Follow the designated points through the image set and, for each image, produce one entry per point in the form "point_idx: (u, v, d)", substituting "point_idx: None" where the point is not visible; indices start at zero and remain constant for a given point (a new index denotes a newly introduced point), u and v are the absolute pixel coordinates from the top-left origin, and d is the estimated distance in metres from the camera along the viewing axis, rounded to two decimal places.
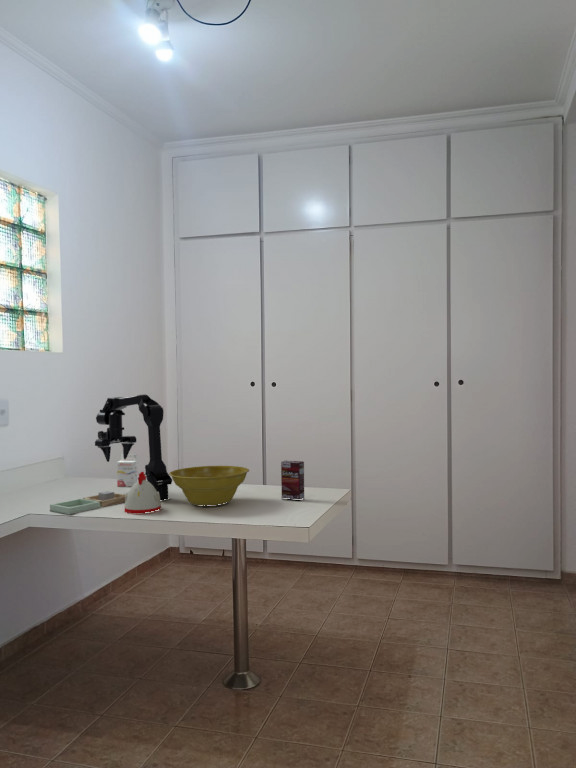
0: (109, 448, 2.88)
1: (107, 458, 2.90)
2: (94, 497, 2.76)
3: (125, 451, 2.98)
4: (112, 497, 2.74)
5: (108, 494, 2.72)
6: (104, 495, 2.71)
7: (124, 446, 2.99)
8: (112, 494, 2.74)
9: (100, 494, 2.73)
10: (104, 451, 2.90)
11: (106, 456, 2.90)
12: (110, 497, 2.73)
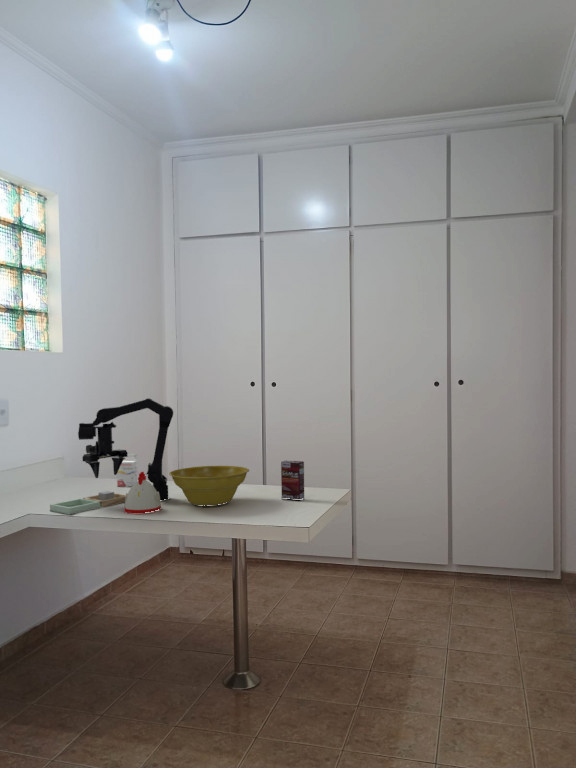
0: (98, 463, 2.67)
1: (96, 474, 2.69)
2: (94, 497, 2.76)
3: (115, 466, 2.77)
4: (112, 497, 2.74)
5: (108, 494, 2.72)
6: (104, 495, 2.71)
7: (114, 461, 2.78)
8: (112, 494, 2.74)
9: (100, 494, 2.73)
10: (92, 467, 2.69)
11: (95, 472, 2.69)
12: (110, 497, 2.73)
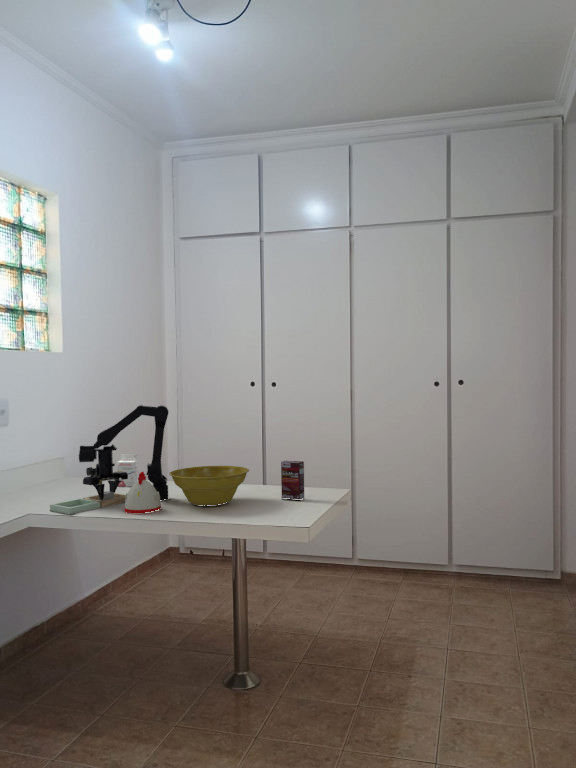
0: (103, 486, 2.69)
1: (101, 496, 2.71)
2: (94, 497, 2.76)
3: (111, 489, 2.76)
4: (112, 497, 2.74)
5: (108, 494, 2.72)
6: (104, 495, 2.71)
7: (110, 484, 2.76)
8: (112, 494, 2.74)
9: None
10: (97, 489, 2.71)
11: (99, 494, 2.71)
12: (110, 497, 2.73)
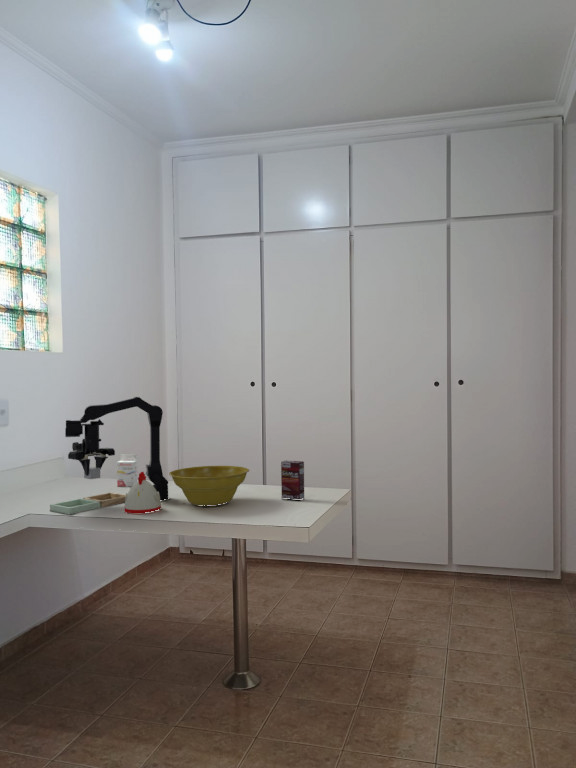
0: (88, 461, 2.64)
1: (86, 472, 2.66)
2: (94, 497, 2.76)
3: (98, 465, 2.70)
4: (98, 473, 2.68)
5: (94, 470, 2.67)
6: (90, 470, 2.66)
7: (97, 460, 2.71)
8: (98, 470, 2.68)
9: None
10: (83, 464, 2.66)
11: (85, 469, 2.66)
12: (96, 473, 2.68)
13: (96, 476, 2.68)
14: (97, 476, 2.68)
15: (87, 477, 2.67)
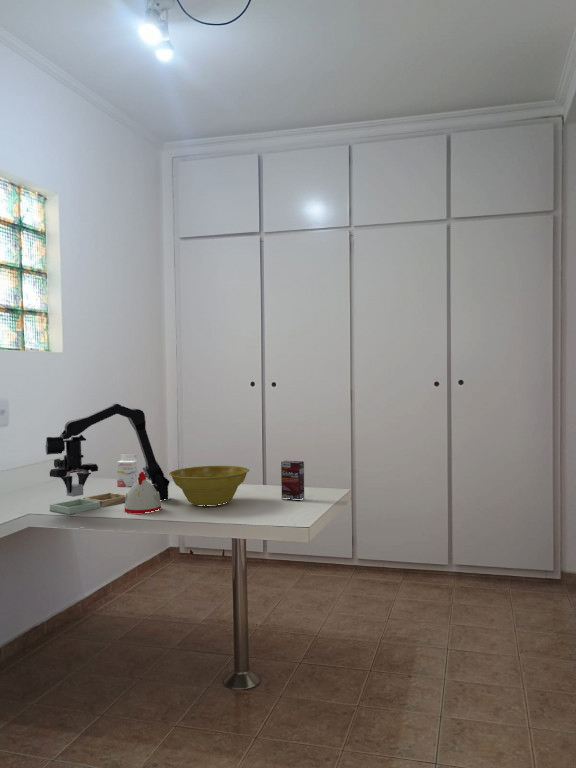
0: (70, 478, 2.57)
1: (68, 489, 2.59)
2: (94, 497, 2.76)
3: (80, 482, 2.64)
4: (81, 490, 2.62)
5: (76, 487, 2.60)
6: (72, 488, 2.59)
7: (79, 476, 2.64)
8: (81, 487, 2.62)
9: None
10: (65, 481, 2.59)
11: (67, 487, 2.59)
12: (79, 490, 2.61)
13: (79, 493, 2.61)
14: (80, 493, 2.61)
15: (70, 494, 2.60)
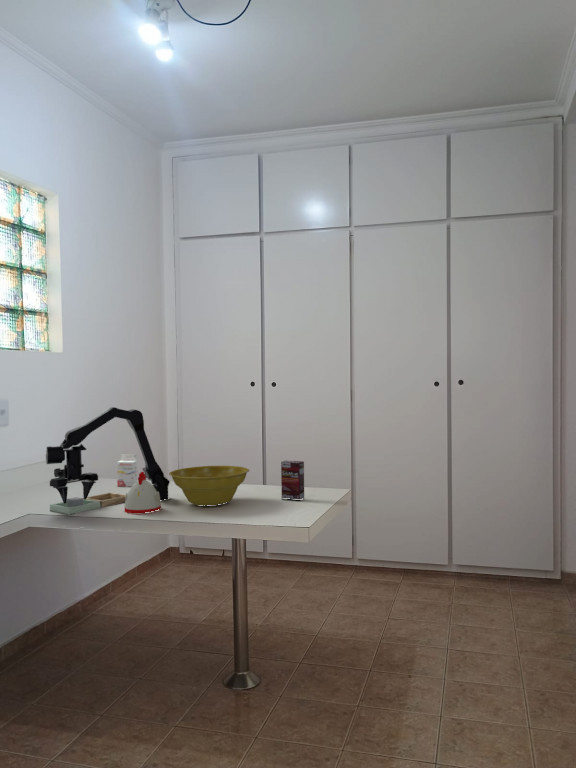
0: (66, 489, 2.56)
1: (64, 499, 2.58)
2: (94, 497, 2.76)
3: (85, 490, 2.65)
4: (81, 503, 2.62)
5: (77, 500, 2.60)
6: (72, 501, 2.59)
7: (84, 485, 2.66)
8: (81, 500, 2.62)
9: (68, 500, 2.61)
10: (60, 492, 2.58)
11: (63, 497, 2.58)
12: (79, 503, 2.61)
13: None
14: None
15: None
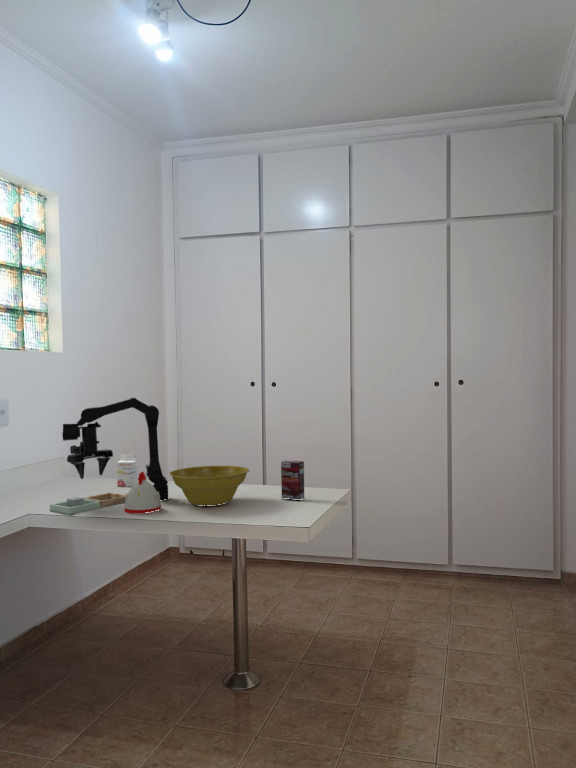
0: (83, 464, 2.64)
1: (81, 475, 2.66)
2: (94, 497, 2.76)
3: (101, 466, 2.73)
4: (81, 503, 2.62)
5: (77, 500, 2.60)
6: (72, 501, 2.59)
7: (100, 461, 2.74)
8: (81, 500, 2.62)
9: (68, 500, 2.61)
10: (77, 467, 2.66)
11: (80, 473, 2.65)
12: (79, 503, 2.61)
13: None
14: None
15: None
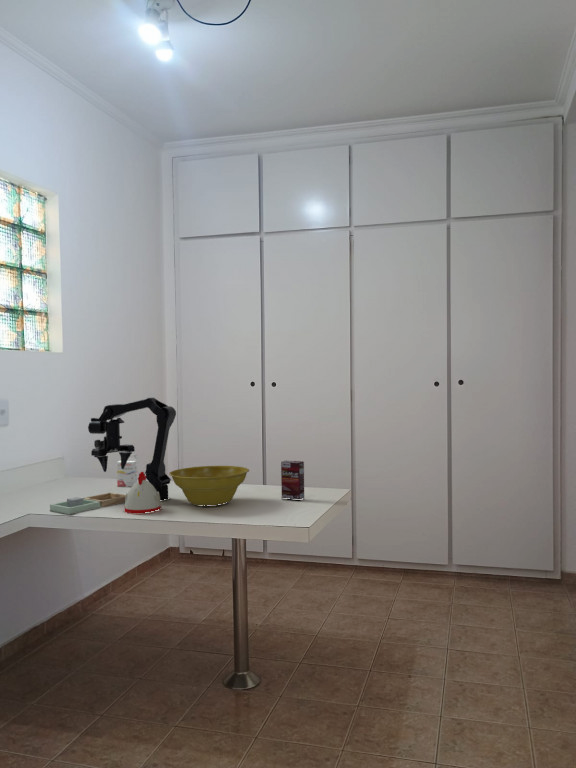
0: (106, 458, 2.77)
1: (104, 468, 2.79)
2: (94, 497, 2.76)
3: (123, 460, 2.86)
4: (81, 503, 2.62)
5: (77, 500, 2.60)
6: (72, 501, 2.59)
7: (122, 455, 2.87)
8: (81, 500, 2.62)
9: (68, 500, 2.61)
10: (101, 461, 2.79)
11: (103, 466, 2.79)
12: (79, 503, 2.61)
13: None
14: None
15: None
